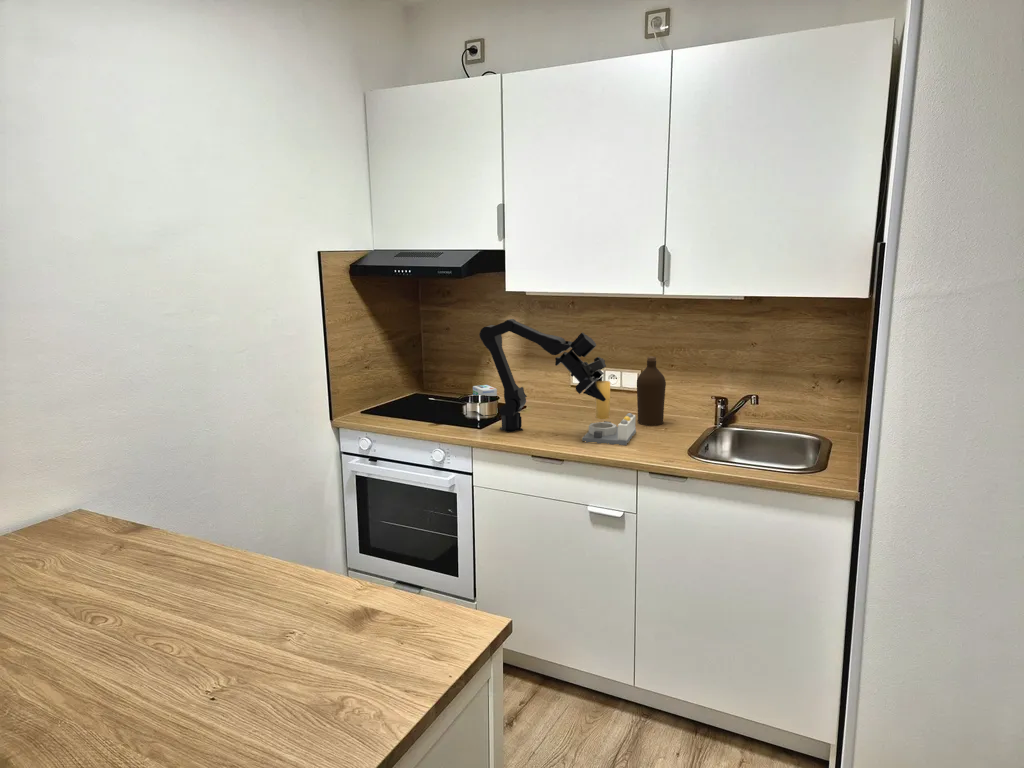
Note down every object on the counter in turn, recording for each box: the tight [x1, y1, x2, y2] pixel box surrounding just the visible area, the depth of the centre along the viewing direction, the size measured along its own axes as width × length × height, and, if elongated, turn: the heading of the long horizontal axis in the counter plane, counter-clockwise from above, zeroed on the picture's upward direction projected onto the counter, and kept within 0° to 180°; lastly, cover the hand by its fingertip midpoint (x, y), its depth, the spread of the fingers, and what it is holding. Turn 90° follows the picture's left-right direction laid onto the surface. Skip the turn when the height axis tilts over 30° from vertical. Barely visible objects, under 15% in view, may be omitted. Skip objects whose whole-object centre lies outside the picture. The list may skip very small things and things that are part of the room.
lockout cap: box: [594, 380, 611, 420], centre depth 235 cm, size 5×5×12 cm
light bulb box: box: [472, 384, 498, 397], centre depth 276 cm, size 11×7×11 cm, turn 25°
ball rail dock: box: [581, 412, 637, 446], centre depth 236 cm, size 15×18×8 cm
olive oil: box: [636, 356, 667, 426], centre depth 254 cm, size 11×11×25 cm
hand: (606, 399), depth 235 cm, fingers closed on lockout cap, 5 cm apart
